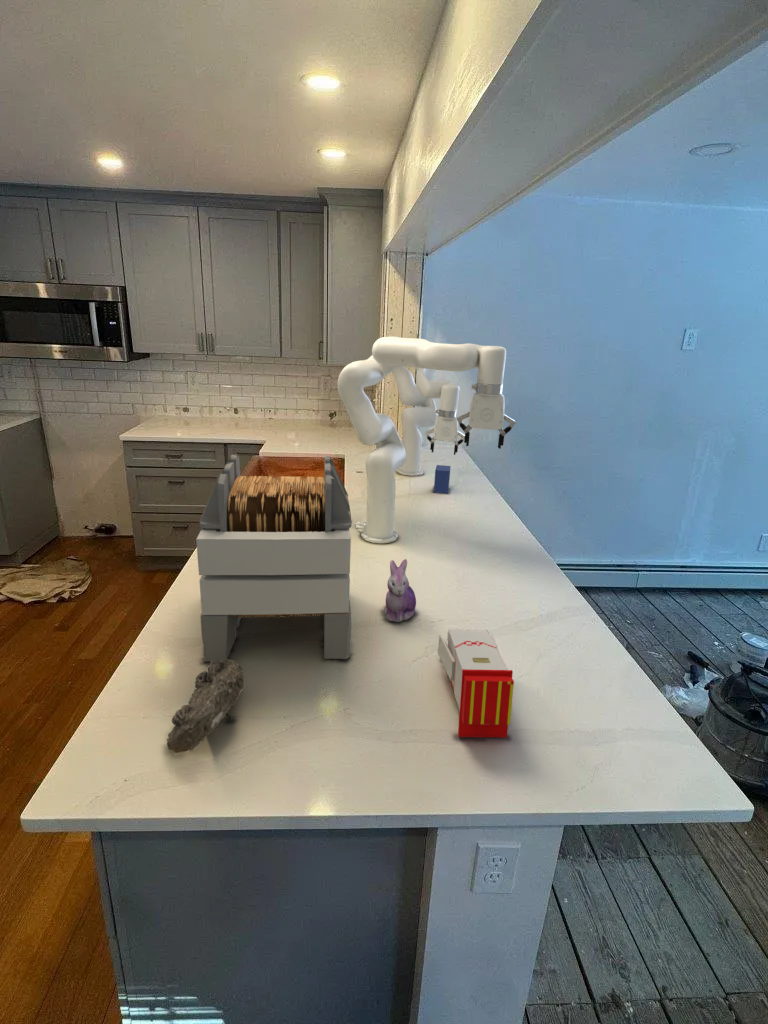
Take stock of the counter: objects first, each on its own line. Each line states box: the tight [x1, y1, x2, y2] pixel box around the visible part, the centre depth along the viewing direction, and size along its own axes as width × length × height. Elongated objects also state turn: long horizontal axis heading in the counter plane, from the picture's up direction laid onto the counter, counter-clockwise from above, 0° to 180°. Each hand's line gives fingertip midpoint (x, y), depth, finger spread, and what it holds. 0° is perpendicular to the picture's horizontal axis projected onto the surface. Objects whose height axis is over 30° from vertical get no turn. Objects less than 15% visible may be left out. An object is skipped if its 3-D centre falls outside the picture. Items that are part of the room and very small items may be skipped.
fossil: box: [166, 658, 245, 754], centre depth 106 cm, size 22×10×15 cm
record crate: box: [195, 453, 353, 663], centre depth 134 cm, size 34×33×41 cm
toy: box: [437, 628, 515, 738], centre depth 117 cm, size 12×13×30 cm
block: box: [433, 464, 451, 495], centre depth 249 cm, size 6×9×10 cm
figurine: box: [384, 558, 417, 623], centre depth 145 cm, size 9×10×15 cm
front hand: (483, 446), depth 172 cm, fingers open, 9 cm apart
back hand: (443, 452), depth 246 cm, fingers open, 9 cm apart
